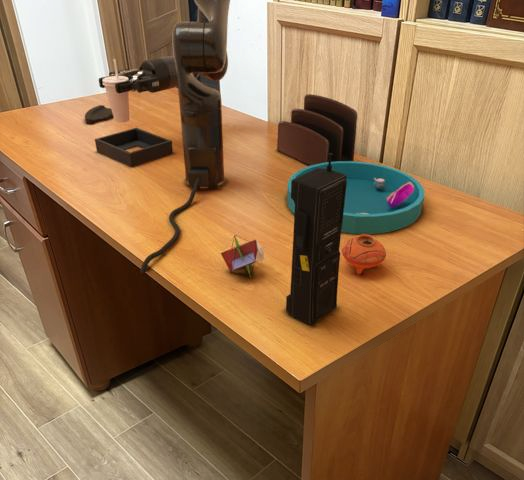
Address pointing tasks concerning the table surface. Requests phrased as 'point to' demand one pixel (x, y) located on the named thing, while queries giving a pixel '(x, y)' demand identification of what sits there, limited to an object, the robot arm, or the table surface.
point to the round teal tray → (373, 197)
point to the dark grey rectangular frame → (131, 138)
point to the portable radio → (316, 243)
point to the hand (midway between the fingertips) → (108, 85)
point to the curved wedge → (98, 114)
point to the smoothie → (117, 97)
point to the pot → (363, 252)
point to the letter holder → (319, 131)
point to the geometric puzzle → (243, 255)
